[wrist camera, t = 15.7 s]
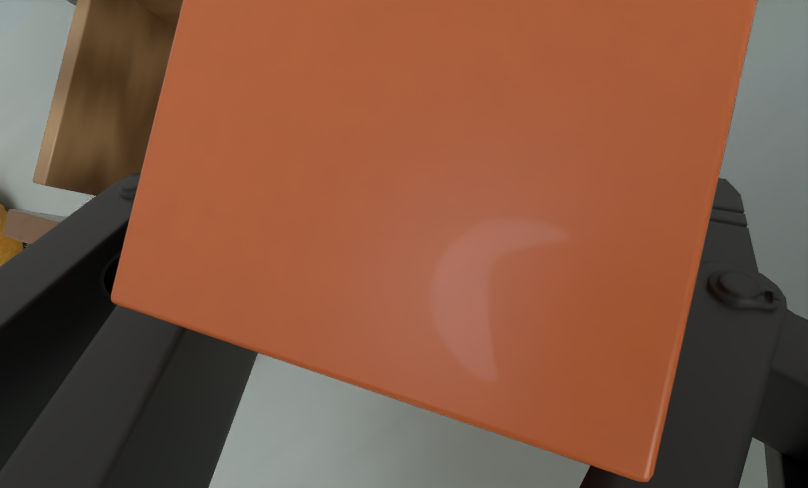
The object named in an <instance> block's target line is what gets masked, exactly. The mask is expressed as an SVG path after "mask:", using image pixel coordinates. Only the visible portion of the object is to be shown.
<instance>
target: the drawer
mask: <svg viewBox="0 0 808 488" xmlns="http://www.w3.org/2000/svg"><path fill="white" fill-rule="evenodd" d="M182 3H183V0H77V3H76V7H75V11H74V15H73V19H72V23H71V28H70V32H69V36H68V40H67V44H66V48H65V52H64V56H63V60H62V64H61V68H60V72H59V76H58V80H57V84H56V88H55V92H54V96H53V100H52V105H51V109H50V113H49V117H48V121H47V125H46V129H45V133H44V137H43V141H42V145H41V149H40V153H39V157H38V161H37V165H36V169H35V173H34V177H33V182H34V183H37V184H41V185H45V186H50V187H55V188H60V189H65V190H70V191H75V192H80V193H85V194H90V195H95V196H97V195H99V194H100V193H101V192H103V191H104V190H105V189H107V188H108V187H110V186H111V185H112V184H114V183H116V182H117V181H119V180H121V179H123V178H125V177H128V176H130V175H131V174H134V173H140V172H141V170H142V166H143V162H144V158H145V154H146V150H147V146H148V142H149V138H150V134H151V130H152V126H153V121H154V117H155V113H156V109H157V105H158V101H159V97H160V93H161V89H162V85H163V81H164V77H165V72H166V68H167V64H168V60H169V56H170V52H171V48H172V44H173V40H174V36H175V32H176V28H177V24H178V19H179V15H180V11H181V7H182ZM66 218H67V217H64V216H57V215H51V214H44V213H37V212H30V211H23V210H16V209H9V210H8V214H7V218H6V222H5V226H4V230H3V236H5V237H9V238H12V239H15V240H18V241H21V242H25V243H28V244H32V243H33V242H34V241H36V240H37V239H38V238H40V237H41V236H43V235H44V234H45V233H47V232H48V231H49V230H51V229H52V228H54V227H55V226H56V225H58V224H59V223H60V222H62V221H63V220H64V219H66Z"/></svg>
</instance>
